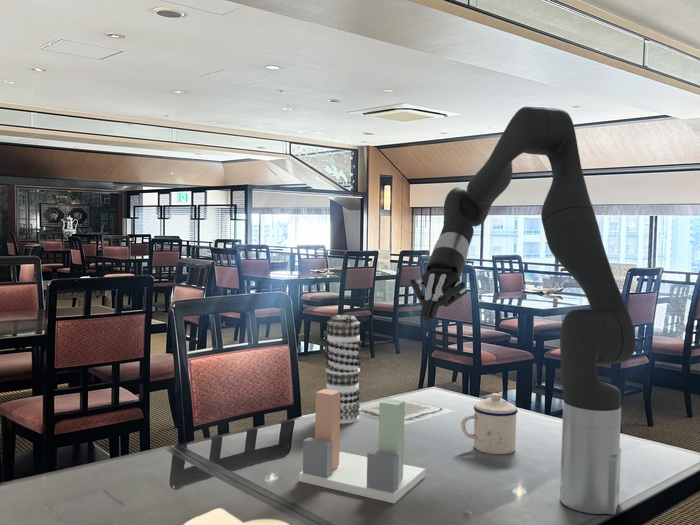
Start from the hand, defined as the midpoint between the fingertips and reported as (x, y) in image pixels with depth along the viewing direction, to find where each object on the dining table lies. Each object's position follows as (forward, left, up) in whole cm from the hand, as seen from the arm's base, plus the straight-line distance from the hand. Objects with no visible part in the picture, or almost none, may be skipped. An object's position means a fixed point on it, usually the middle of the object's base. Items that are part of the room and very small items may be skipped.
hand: (426, 318), depth 135 cm
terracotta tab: (+10, +22, -26) cm, 36 cm away
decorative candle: (+26, -12, -28) cm, 40 cm away
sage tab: (-3, +22, -26) cm, 34 cm away
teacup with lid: (-11, -9, -28) cm, 32 cm away
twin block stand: (+4, +20, -28) cm, 35 cm away
